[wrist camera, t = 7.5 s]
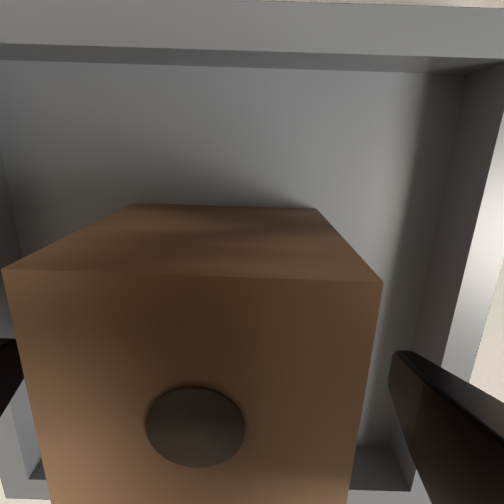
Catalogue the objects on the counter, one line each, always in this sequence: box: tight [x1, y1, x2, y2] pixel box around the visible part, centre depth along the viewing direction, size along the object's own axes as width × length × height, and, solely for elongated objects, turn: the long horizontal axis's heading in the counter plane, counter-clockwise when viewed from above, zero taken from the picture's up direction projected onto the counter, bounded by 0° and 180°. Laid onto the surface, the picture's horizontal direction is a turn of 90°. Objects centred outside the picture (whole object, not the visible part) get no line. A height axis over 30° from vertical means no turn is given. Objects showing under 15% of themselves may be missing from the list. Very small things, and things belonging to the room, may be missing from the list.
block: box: [1, 203, 384, 504], centre depth 9 cm, size 6×6×6 cm
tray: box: [0, 0, 504, 504], centre depth 11 cm, size 16×16×2 cm
